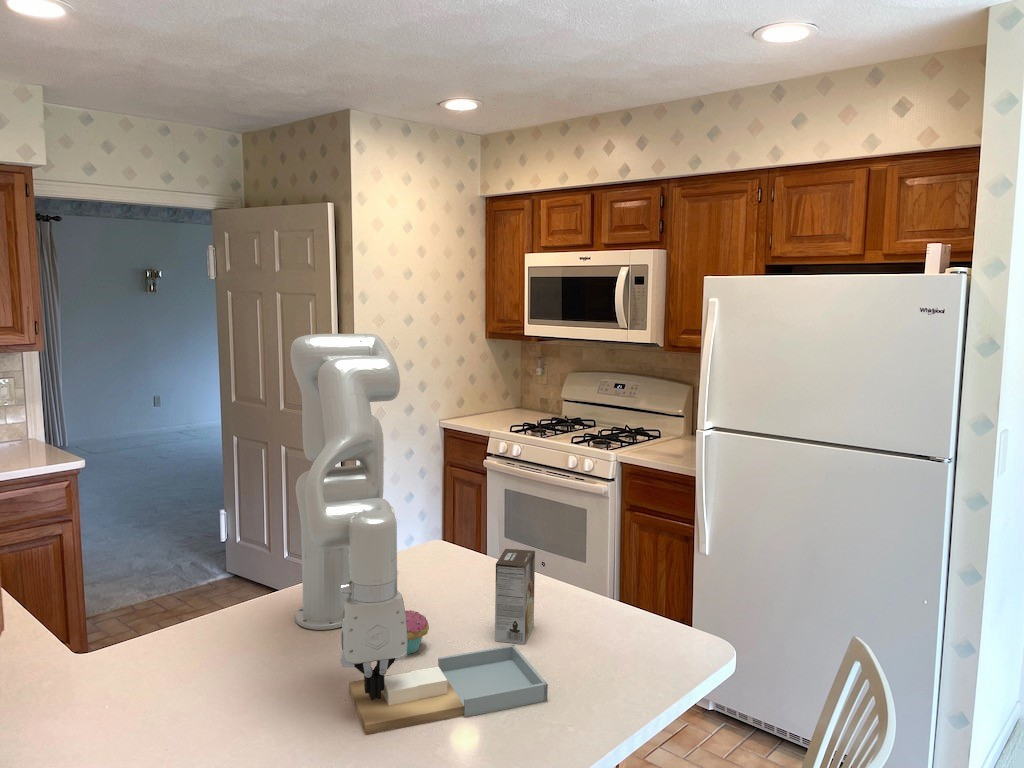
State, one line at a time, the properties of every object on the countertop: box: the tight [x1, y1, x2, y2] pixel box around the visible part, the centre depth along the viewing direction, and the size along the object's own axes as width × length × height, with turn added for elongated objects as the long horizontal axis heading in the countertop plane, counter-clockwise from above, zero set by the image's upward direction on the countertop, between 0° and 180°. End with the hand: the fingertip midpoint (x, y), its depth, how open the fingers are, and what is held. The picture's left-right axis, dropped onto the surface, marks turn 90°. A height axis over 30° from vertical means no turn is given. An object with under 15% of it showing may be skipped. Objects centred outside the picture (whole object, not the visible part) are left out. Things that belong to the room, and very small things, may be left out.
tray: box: [437, 644, 549, 718], centre depth 138 cm, size 15×15×3 cm
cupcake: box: [405, 610, 430, 655], centre depth 151 cm, size 9×8×12 cm
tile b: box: [409, 666, 447, 699], centre depth 133 cm, size 5×5×2 cm
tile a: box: [382, 671, 418, 706], centre depth 131 cm, size 5×5×2 cm
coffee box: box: [494, 548, 536, 645], centre depth 158 cm, size 9×6×16 cm
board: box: [348, 667, 464, 736], centre depth 132 cm, size 14×16×2 cm
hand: (374, 695), depth 130 cm, fingers closed
